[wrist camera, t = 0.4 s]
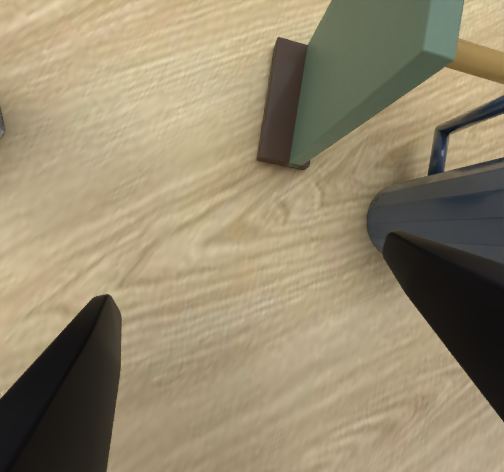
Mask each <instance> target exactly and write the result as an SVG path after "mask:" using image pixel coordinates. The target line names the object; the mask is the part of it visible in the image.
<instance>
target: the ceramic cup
mask: <svg viewBox="0 0 504 472" xmlns="http://www.w3.org/2000/svg"><path fill="white" fill-rule="evenodd" d="M4 132H5V128H4V123H3V118H2V114H1V109H0V137H1V136H2V135H3V133H4Z"/></svg>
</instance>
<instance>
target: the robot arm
mask: <svg viewBox="0 0 504 472" xmlns="http://www.w3.org/2000/svg"><path fill="white" fill-rule="evenodd" d="M382 255H383V258H384V259H385V261H386V263H387V264H388V266H389V268H390V269H391V271H392V272H393V274H394V276H395V277H396V279H397V281H398V282H399V284H400V285H401V287H402V289H403V290H404V292H405V293H406V295H407V296H408V297H409V299H410V300H411V301H412V303H413V304H414V305H415V307H416V308H417V309H418V311H419V312H420V313H421V315H422V316H423V317H424V318H425V320H426V321H427V322H428V324H429V325H430V326H431V328H432V329H433V330H434V332H435V333H436V334H437V335H438V337H439V338H440V339H441V341H442V342H443V343H444V345H445V346H446V347H447V349H448V350H449V351H450V352H451V354H452V355H453V356H454V358H455V359H456V360H457V362H458V363H459V364H460V366H461V367H462V368H463V369H464V371H465V372H466V373H467V375H468V376H469V377H470V379H471V380H472V381H473V383H474V384H475V385H476V386H477V388H478V389H479V390H480V392H481V393H482V394H483V396H484V397H485V398H486V400H487V401H488V402H489V403H490V405H491V406H492V407H493V409H494V410H495V411H496V413H497V414H498V415H499V417H500V418H501V419H502V420H503V422H504V264H502V263H499V262H496V261H493V260H490V259H487V258H484V257H481V256H478V255H475V254H472V253H469V252H466V251H463V250H460V249H457V248H454V247H451V246H448V245H445V244H442V243H439V242H436V241H433V240H430V239H427V238H424V237H421V236H418V235H415V234H412V233H409V232H406V231H403V230H396V231H391V232H389V233H388V234H387V235H386V238H385V242H384V245H383V249H382ZM121 328H122V318H121V313H120V311H119V309H118V307H117V305H116V303H115V302H114V300H113V298H112V297H111V295H109V294H105V295H100V296H96V297H94V298H92V299H91V300H90V301H89V303H88V304H87V305H86V306H85V307H84V308H83V309H82V310H81V311H80V312H79V313H78V315H77V316H76V317H75V318H74V319H73V320H72V321H71V322H70V323H69V324H68V325H67V327H66V328H65V329H64V330H63V331H62V332H61V333H60V334H59V335H58V336H57V337H56V339H55V340H54V341H53V342H52V343H51V344H50V345H49V346H48V347H47V348H46V349H45V351H44V352H43V353H42V354H41V355H40V356H39V357H38V358H37V359H36V360H35V362H34V363H33V364H32V365H31V366H30V367H29V368H28V369H27V370H26V371H25V372H24V374H23V375H22V376H21V377H20V378H19V379H18V380H17V381H16V382H15V383H14V384H13V386H12V387H11V388H10V389H9V390H8V391H7V392H6V393H5V394H4V395H3V396H2V398H1V399H0V472H107V464H108V457H109V450H110V443H111V436H112V428H113V421H114V414H115V407H116V399H117V392H118V385H119V378H120V369H121Z"/></svg>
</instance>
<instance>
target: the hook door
mask: <svg viewBox="0 0 504 472" xmlns="http://www.w3.org/2000/svg"><path fill="white" fill-rule="evenodd" d="M463 5H464V0H332V1H331V3H330V4H329V6H328V8H327V10H326V12H325V14H324V16H323V18H322V20H321V21H320V23H319V25H318V27H317V29H316V31H315V33H314V35H313V36H312V38H311V40H310V42H309V44H308V45H305V44H301V43H298V42H294V41H291V40H287V39H284V38H280V37H278V38H277V41H276V44H275V46H274V53H273V59H272V65H271V72H270V78H269V84H268V91H267V97H266V104H265V110H264V116H263V123H262V129H261V135H260V142H259V148H258V155H257V160H259V161H264V162H269V163H274V164H279V165H284V166H288V167H293V168H298V169H303V170H305V169H306V168H308V167H309V164H310V160H311V159H312V158H314V157H315V156H317V155H318V154H319V153H321V152H322V151H324V150H325V149H327V148H328V147H330V146H331V145H333V144H334V143H335V142H337V141H338V140H340V139H341V138H343V137H344V136H346V135H347V134H348V133H350V132H351V131H353V130H354V129H356V128H357V127H359V126H360V125H361V124H363V123H364V122H366V121H367V120H369V119H370V118H372V117H373V116H374V115H376V114H377V113H379V112H380V111H382V110H383V109H385V108H386V107H388V106H389V105H390V104H392V103H393V102H395V101H396V100H398V99H399V98H401V97H402V96H403V95H405V94H406V93H408V92H409V91H411V90H412V89H414V88H415V87H416V86H418V85H419V84H421V83H422V82H424V81H425V80H427V79H428V78H429V77H431V76H432V75H434V74H435V73H437V72H438V71H440V70H441V69H443V68H444V67H447V68H450V69H454V70H457V71H460V72H464V73H467V74H471V75H474V76H478V77H481V78H484V79H488V80H491V81H495V82H498V83H501V84H504V52H500V51H497V50H494V49H491V48H488V47H485V46H481V45H478V44H475V43H472V42H469V41H465V40H462V39H459V38H458V36H459V30H460V24H461V17H462V11H463Z"/></svg>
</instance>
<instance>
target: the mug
mask: <svg viewBox="0 0 504 472" xmlns="http://www.w3.org/2000/svg"><path fill="white" fill-rule="evenodd" d="M501 114H504V95H503V96H501V97H499V98H497V99H495V100H493V101H490V102H488V103H486V104H484V105H482V106H479V107H477V108H475V109H473V110H471V111H468V112H466V113H464V114H462V115H460V116H457V117H455V118H453V119H451V120H449V121H446V122H444V123H442V124H440V125H438V126H437V127H436V128H435V131H434V138H433V144H432V151H431V157H430V163H429V170H428V176H425V177H421V178H417V179H413V180H409V181H405V182H401V183H397V184H393V185H390V186H388V187H386V188H385V189H383V190H382V191H381V192H380V193H379V194H378V195H377V196H376V197H375V198H374V200H373V201H372V203H371V205H370V208H369V211H368V216H367V228H368V233H369V236H370V239H371V241H372V243H373V244H374V246H375V247H376V248H377V249H378V250H379V251H380V252H381V253H382V249H383V245H384V242H385V238H386V235H387V234H388V233H389V232H391V231H396V230H403V231H406V232H409V233H412V234H415V235H418V236H421V237H424V238H427V239H430V240H433V241H436V242H439V243H442V244H445V245H448V246H451V247H454V248H457V249H460V250H463V251H466V252H469V253H472V254H475V255H478V256H481V257H484V258H487V259H490V260H493V261H496V262H499V263H502V264H504V157H503V158H499V159H495V160H491V161H487V162H482V163H478V164H474V165H470V166H466V167H462V168H458V169H454V170H450V171H446V172H444V168H445V162H446V155H447V149H448V143H449V136H450V134H453V133H455V132H458V131H461V130H463V129H466V128H468V127H471V126H473V125H476V124H478V123H481V122H483V121H486V120H488V119H491V118H494V117H496V116H499V115H501Z"/></svg>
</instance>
